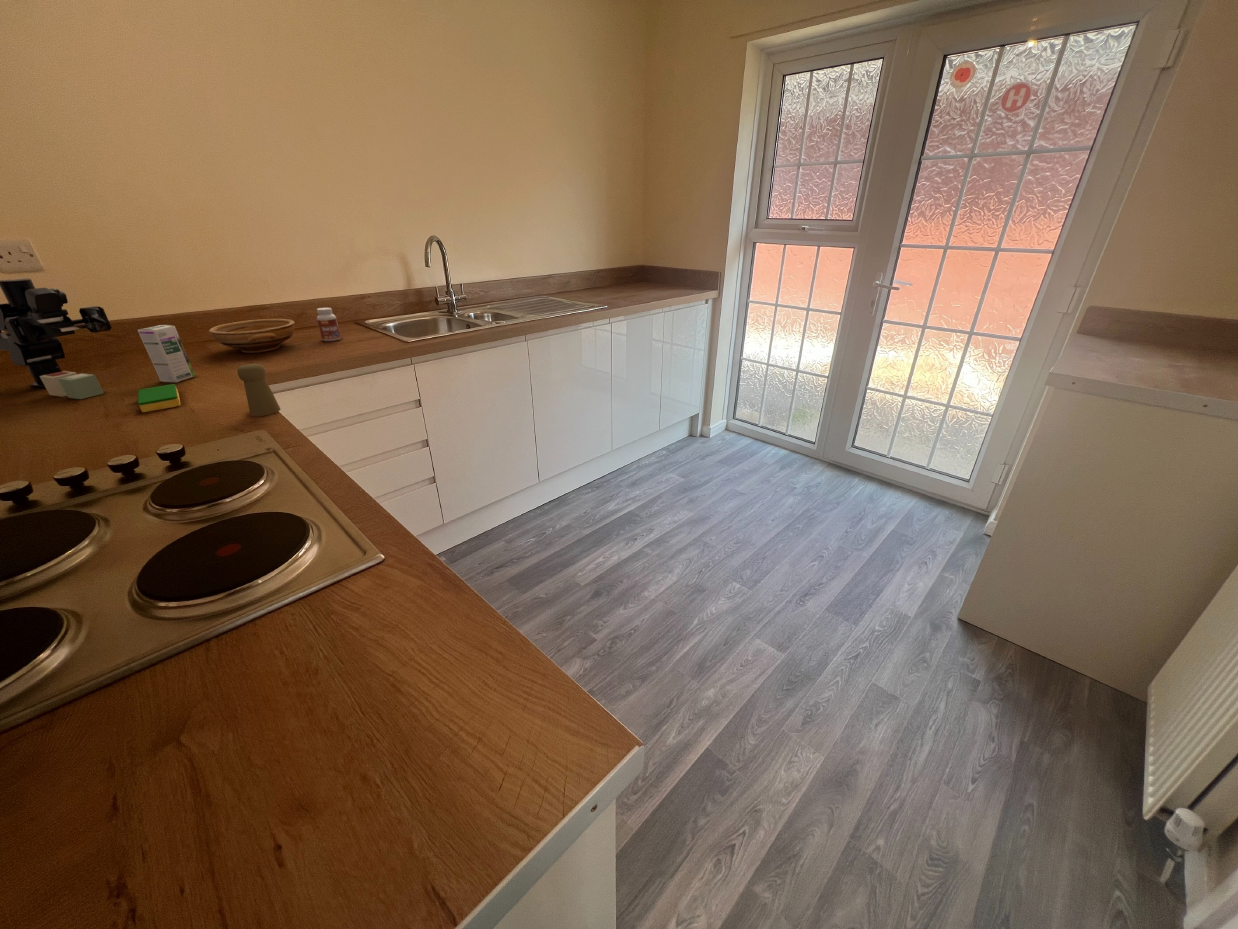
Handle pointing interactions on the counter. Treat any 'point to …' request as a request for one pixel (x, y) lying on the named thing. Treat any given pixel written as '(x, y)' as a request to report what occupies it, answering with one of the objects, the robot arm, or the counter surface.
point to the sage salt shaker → (258, 390)
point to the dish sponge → (158, 398)
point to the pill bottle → (328, 325)
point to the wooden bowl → (254, 334)
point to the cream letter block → (55, 382)
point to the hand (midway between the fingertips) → (83, 327)
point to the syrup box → (167, 353)
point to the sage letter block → (81, 386)
